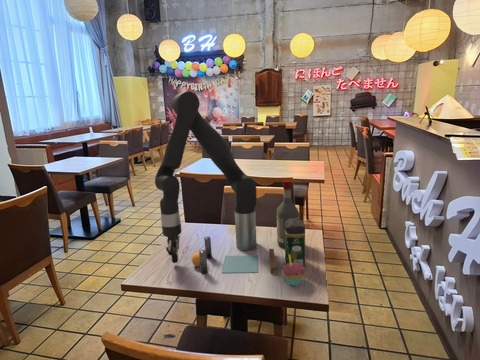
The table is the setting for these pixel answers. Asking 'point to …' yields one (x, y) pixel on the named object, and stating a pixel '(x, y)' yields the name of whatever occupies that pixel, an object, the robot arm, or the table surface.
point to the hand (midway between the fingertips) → (175, 261)
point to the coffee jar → (295, 241)
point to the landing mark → (240, 264)
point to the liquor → (285, 213)
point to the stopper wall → (272, 261)
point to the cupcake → (293, 272)
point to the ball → (196, 259)
